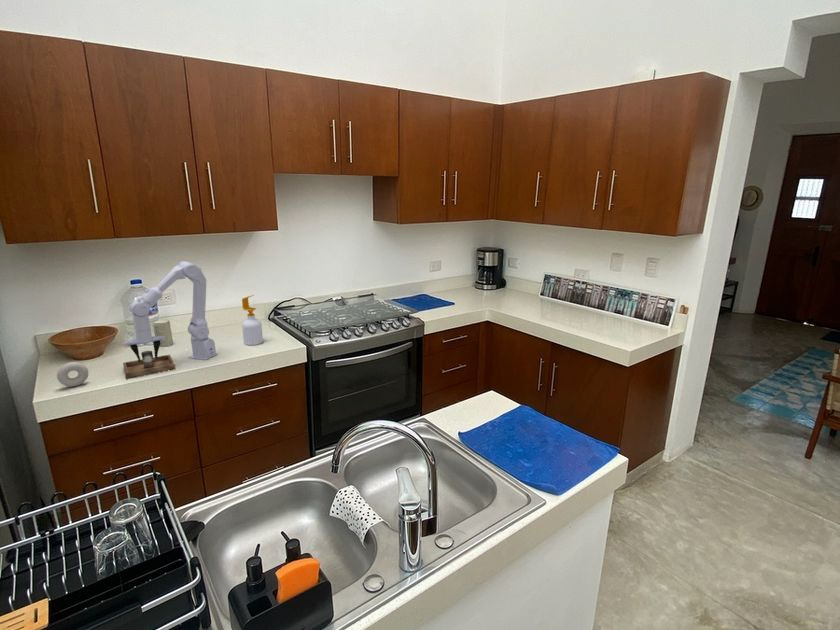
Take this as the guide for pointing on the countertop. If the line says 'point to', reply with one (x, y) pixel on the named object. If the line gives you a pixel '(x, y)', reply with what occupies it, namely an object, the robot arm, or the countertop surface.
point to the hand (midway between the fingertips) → (147, 359)
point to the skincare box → (163, 332)
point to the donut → (72, 366)
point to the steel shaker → (147, 359)
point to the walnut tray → (137, 368)
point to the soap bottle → (251, 326)
